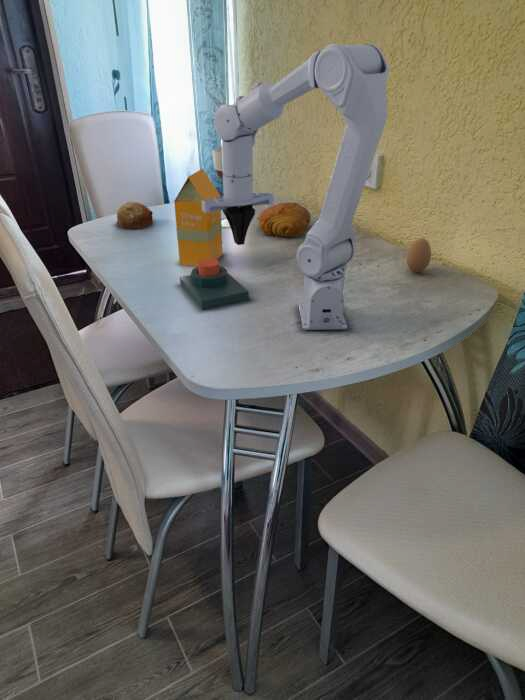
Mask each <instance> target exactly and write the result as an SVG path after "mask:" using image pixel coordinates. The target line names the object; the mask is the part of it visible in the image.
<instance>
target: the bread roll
mask: <svg viewBox="0 0 525 700" xmlns="http://www.w3.org/2000/svg"><path fill="white" fill-rule="evenodd" d="M153 214H154V213H153V211H152V210H151V209H150V207H147V205H145V204H144V203H141V202H139V201H126V202H124V203H122V205H120V206H119V208H118V209H117V212H116V225H118V227H120V228H122V229H124V230H136V229H137V230H139V229H143V228H146V227H148V226H150V225H152V223H153V221H154V220H153Z"/></svg>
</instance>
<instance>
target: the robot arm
mask: <svg viewBox="0 0 525 700" xmlns="http://www.w3.org/2000/svg"><path fill="white" fill-rule="evenodd" d="M390 70H391V68H390V66H389V64H388V62H387V60H386V57H385V55H384V54H383V52H382V50H381V49H380V47H378V46H377V45H375V44H373V43H363V44H340V43H331V44H328V45H325V47H324V48H322V49H321V50H318V51H316V52H313V53H312V54H311V55H310V57H309V58H308V59H307V60H305V61H304V62H302V64H300V65H299V66H297V67H296V68H294V70H292V71H291V72H290V73H288V74H287V75H286V76H285V77H283V78H282V79H280V80H279V81H277V83H276V82H275V84H273V83H270V82H263V81H259V82H256V83H254V84H253V85H252V88H253V89H252V90H251V91H250V92H248V93H247V94H245V95H240V96H237V97H236V98H235V102H234V103H233V104H227V103H226V104H225V103H223V104H221V105H220V106H219V107H218V108H217V109H216V111H215V113H214V115H213V126H214V131H215V132H216V135H217V136H218V137H219V138H220V139H221V147H222V168H223V180H222V191H223V192H222V193H223V195H222V196H221V195H220V197H217V198H213V199H209V200H203V201H202V211H203V212H205V213H210V212H211V211H218V210H221V211H222V213H223V214H224V216H225V218H226V219H227V220H228V222H229V225H230V227H229V228H230V230H231V233H232V238H233V242H234V243H235V245H238V246H242V245H245V241H246V236H247V233H248V230H249V227H250V225H251V223H252V221H253V219H254V217H255V215H256V209H255V208H253V207H257V206H264V205H268V206H273V205H275V204H274V203H275V202H274V198H275V197H274V196H275V195H274V194H273V193H271V192H255V193H254V169H253V168H254V166H253V165H254V162H253V161H254V158H253V157H254V153H253V151H254V150H253V149H254V148H253V147H254V146H255V145H256V136H257V134H258V132H259V130H260V129H261V128H263V127H264V126H266V125H268V124H269V123H271V122H273V121H275V120H276V119H278V118H280V117H281V116H282V115H283V113H284V109H285V105H287V104H288V103H291V102H292V101H294V100H297V99H299V98H300V97H302V96H304V95H306V94H308V93H309V92H311V91H313V90H316V89H319V90H320V91H321V92H322V94H323V95H324V96H325V97H326V98H327V99H328V101H330V102H331V104H332V105H333V106H334V107H335V108H336V109H337V110H338V111H339V112H340V114H341V115H342V117H343V119H344V121H345V123H346V124H345V128H344V131H343V134H342V138H341V142H340V144H339V149H338V151H337V152H338V153H337V156H336V159H335V163H334V167H333V169H332V173H331V176H330V180H329V183H328V187H327V190H326V193H325V197H324V200H323V203H322V206H321V207H322V208H321V211H320V215H319V216H318V217H319V218H318V220H317V221H316V222H315V223H314V224H313V225H312V227H311V228H310V229H309V230H308V231H307V233H306V236H305V239H304V241H303V242H302V243H301V244H300V245H299V247H298V248H297V250H296V263H297V266H298V268H299V269H300V271H301V272H302V275H303V296H302V304H299V305H298V310H299V315H300V321H301V326H302V329H303V330H305V331H317V330H318V331H322V330H325V331H327V330H330V331H331V330H333V331H334V330H335V331H336V330H347V329H348V325H347V322H346V319H345V316H344V308H345V295H344V287H345V274H346V270H347V267H348V266H347V265H348V263H350V262H351V261H352V260H353V258H354V256H355V251H356V249H355V248H356V247H355V238H356V235H357V231H356V229H355V227H354V226H352V224H353V221H354V217H355V214H356V211H357V208H358V206H359V203H360V200H361V196H362V194H363V191H364V188H365V185H366V182H367V179H368V176H369V173H370V170H371V167H372V165H373V161H374V158H375V156H376V152H377V150H378V146H379V144H380V140H381V138H382V134H383V132H384V129H385V126H386V123H387V119H388V103H387V102H388V99H387V80H388V77H389V75H390V72H391V71H390Z"/></svg>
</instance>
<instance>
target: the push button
mask: <svg viewBox="0 0 525 700" xmlns="http://www.w3.org/2000/svg"><path fill="white" fill-rule="evenodd" d="M220 266H221V264H220V261H219V259H218V260H216V259H203V260H200V261H199V262H198V266H197V267H198V274H199V275H201V276H215V275H218V274H220Z"/></svg>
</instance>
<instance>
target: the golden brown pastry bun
mask: <svg viewBox="0 0 525 700" xmlns="http://www.w3.org/2000/svg"><path fill="white" fill-rule="evenodd" d="M311 217H312V215H311V213H310V211H309V210H308V209H307V208H306V207H305V206H303V205H301V204H299V203H297V202H290V201H289V202H280V203H277V204H272V205H269V206H268V207H267V208H264V210H262V211H261V212H259V214H258V216H257V220H258V227H259V229H260V230H261V231H262V232H263V233H264V234H265V235H268V236H273V235H275V236H276V237H280V238H282V237H283V238H296V237H299V236H300V235H301V234H303V233H304V232H305V231H306V229H307V227H308V225H309V224H310V222H311Z"/></svg>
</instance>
